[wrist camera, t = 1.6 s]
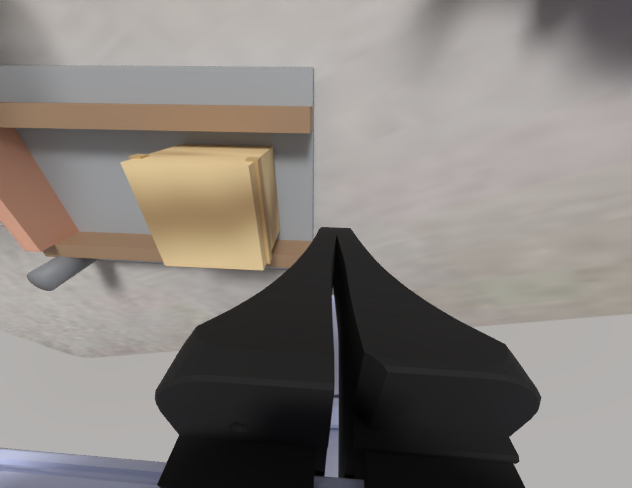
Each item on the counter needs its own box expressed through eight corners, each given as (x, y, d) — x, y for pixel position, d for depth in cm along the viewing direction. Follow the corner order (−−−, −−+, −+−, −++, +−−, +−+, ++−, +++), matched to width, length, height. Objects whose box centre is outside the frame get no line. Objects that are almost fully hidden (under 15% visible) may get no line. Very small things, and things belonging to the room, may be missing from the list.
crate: (282, 230, 18) (267, 272, 14) (202, 227, 18) (162, 266, 14) (276, 144, 14) (252, 163, 10) (177, 142, 15) (115, 160, 10)
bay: (313, 263, 21) (308, 305, 16) (91, 253, 22) (33, 290, 17) (314, 69, 13) (305, 55, 9) (-27, 66, 14) (-179, 53, 10)
